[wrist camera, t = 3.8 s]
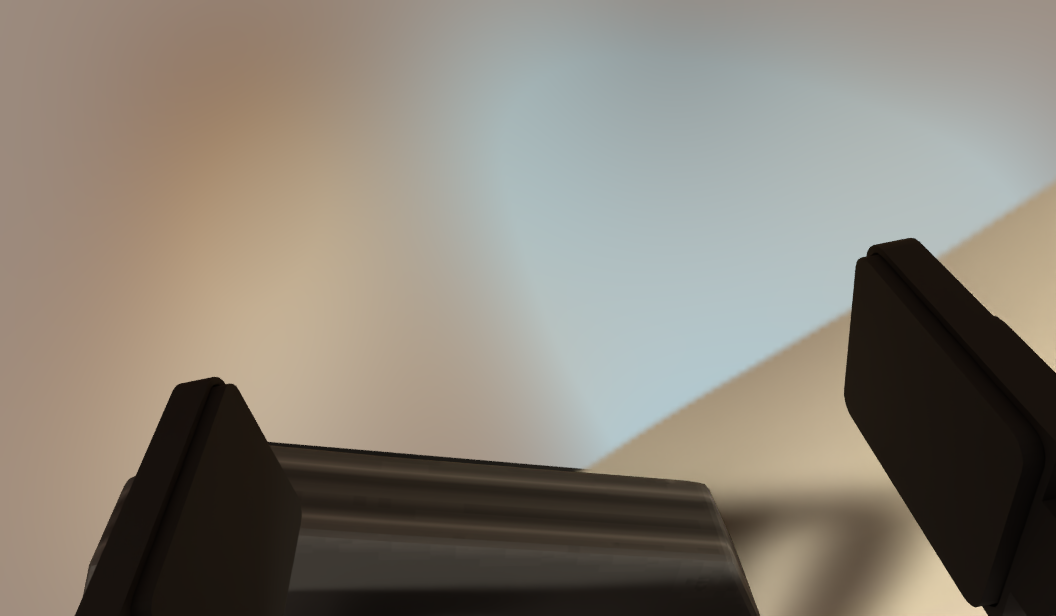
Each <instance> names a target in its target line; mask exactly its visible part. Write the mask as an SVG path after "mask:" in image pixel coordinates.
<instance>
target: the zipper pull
mask: <svg viewBox="0 0 1056 616" xmlns="http://www.w3.org/2000/svg"><path fill="white" fill-rule="evenodd" d="M268 444H269V445H270V447H271V449H272V451H273V453H274V454H275V456H276V458H277V460H278V462H279V463H280V465H281V467H282V469H283V471H284V472H285V474H286V476H287V478H288V480H289V481H290V483H291V485H292V487H293V489H294V490H295V492H296V494H297V496H298V498H299V501H300V504H301V511H302V519H301V526H300V531H299V536H298V542H297V547H296V552H295V557H294V563H293V568H292V573H291V578H290V584H289V589H288V594H287V599H286V605H285V610H284V615H283V616H760V614H759V611H758V609H757V606H756V603H755V600H754V598H753V595H752V592H751V590H750V587H749V584H748V582H747V579H746V576H745V573H744V571H743V568H742V565H741V563H740V560H739V557H738V555H737V552H736V549H735V547H734V544H733V542H732V539H731V537H730V535H729V533H728V530H727V528H726V526H725V524H724V521H723V519H722V517H721V515H720V512H719V510H718V508H717V506H716V503H715V501H714V499H713V497H712V494H711V492H710V490H709V489H708V488H707V487H706V485H705V484H701V483H696V482H689V481H681V480H669V479H657V478H644V477H632V476H620V475H607V474H595V473H583V472H582V471H583V470H584V469H580V468H568V467H557V466H545V465H532V464H522V463H510V462H499V461H487V460H475V459H463V458H451V457H439V456H429V455H416V454H405V453H393V452H382V451H370V450H358V449H347V448H335V447H323V446H311V445H300V444H289V443H276V442H268ZM134 479H135V476H134V477H132V478H130V479H129V480H128V481H127V483H126V484H125V486H124V488H123V490H122V492H121V494H120V497H119V499H118V501H117V503H116V506H115V508H114V510H113V513H112V515H111V517H110V519H109V522H108V524H107V526H106V528H105V531H104V533H103V535H102V537H101V540H100V542H99V544H98V547H97V549H96V551H95V553H94V556H93V558H92V560H91V562H90V564H89V569H88V574H87V579H86V584H85V589H84V593H85V591H86V589H87V587H88V584H89V582H90V580H91V577H92V575H93V573H94V571H95V568H96V566H97V564H98V561H99V559H100V557H101V554H102V552H103V550H104V548H105V545H106V543H107V541H108V538H109V536H110V534H111V532H112V529H113V527H114V525H115V522H116V520H117V518H118V515H119V513H120V511H121V509H122V506H123V504H124V502H125V499H126V497H127V495H128V492H129V490H130V488H131V486H132V483H133V481H134ZM83 596H84V594H83Z"/></svg>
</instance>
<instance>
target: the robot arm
mask: <svg viewBox="0 0 1056 616" xmlns="http://www.w3.org/2000/svg"><path fill="white" fill-rule="evenodd" d="M844 397H845V402H846V406H847V409H848V412H849V414H850V415H851V417H852V419H853V420H854V422H855V424H856V425H857V427H858V428H859V430H860V432H861V433H862V435H863V436H864V438H865V440H866V441H867V443H868V444H869V446H870V448H871V449H872V451H873V452H874V454H875V456H876V457H877V459H878V461H879V462H880V464H881V465H882V467H883V469H884V470H885V472H886V473H887V475H888V477H889V478H890V480H891V481H892V483H893V485H894V486H895V488H896V489H897V491H898V493H899V494H900V496H901V497H902V499H903V501H904V502H905V504H906V505H907V507H908V509H909V510H910V512H911V513H912V515H913V517H914V518H915V520H916V521H917V523H918V525H919V526H920V528H921V529H922V531H923V533H924V534H925V536H926V537H927V539H928V541H929V542H930V544H931V546H932V547H933V549H934V550H935V552H936V554H937V555H938V557H939V558H940V560H941V562H942V563H943V565H944V566H945V568H946V570H947V571H948V573H949V574H950V576H951V578H952V579H953V581H954V582H955V584H956V586H957V587H958V589H959V590H960V592H961V594H962V595H963V597H964V598H965V599H966V601H967V602H968V603H969V604H970V605H972V606H974V607H980V606H982V607H983V608H984V610H985V611H986V613H987V614H988V616H1056V373H1055V372H1054V371H1053V370H1052V369H1051V368H1050V367H1049V366H1048V365H1047V364H1046V363H1045V362H1044V361H1043V360H1042V359H1041V358H1040V357H1039V356H1038V355H1037V354H1036V353H1035V352H1034V351H1033V350H1032V349H1031V348H1030V347H1029V346H1028V345H1027V344H1026V343H1025V342H1024V341H1023V340H1022V339H1021V338H1020V337H1019V336H1018V335H1017V334H1016V333H1015V332H1014V331H1013V330H1012V329H1011V328H1010V327H1009V326H1008V325H1007V324H1006V323H1005V322H1003V321H1002V320H1001V319H999V318H998V317H996V316H993V315H992V314H991V313H990V312H989V311H988V310H987V309H986V308H985V307H984V306H983V305H982V304H981V303H980V302H979V301H978V300H977V299H976V298H975V297H974V296H973V295H972V294H971V293H970V292H969V291H968V290H967V289H966V288H965V287H964V286H963V285H962V284H961V283H960V282H959V281H958V280H957V279H956V278H955V277H954V276H953V275H952V274H951V273H950V272H949V271H948V270H947V269H946V268H945V267H944V266H943V265H942V264H941V263H940V262H939V261H938V260H937V259H936V258H935V257H934V256H933V255H932V254H931V253H930V252H929V251H928V250H927V249H926V248H925V247H924V246H923V245H922V244H921V243H920V242H919V241H917V240H916V239H914V238H907V239H902V240H897V241H892V242H887V243H882V244H877V245H873V246H871V247H870V248H869V250H868V252H867V256H866V257H862V258H860V259H858V261H857V264H856V270H855V280H854V291H853V301H852V312H851V322H850V333H849V344H848V354H847V365H846V376H845V386H844ZM301 519H302V511H301V504H300V501H299V498H298V496H297V494H296V492H295V490H294V489H293V487H292V485H291V483H290V481H289V480H288V478H287V476H286V474H285V472H284V471H283V469H282V467H281V465H280V463H279V462H278V460H277V458H276V456H275V454H274V453H273V451H272V449H271V447H270V445H269V444H268V442H267V440H266V439H265V436H264V435H263V433H262V431H261V429H260V427H259V426H258V424H257V422H256V420H255V418H254V417H253V415H252V413H251V411H250V409H249V408H248V406H247V404H246V402H245V401H244V399H243V397H242V395H241V393H240V391H239V390H238V388H237V387H236V386H235V385H234V384H225V383H224V381H223V380H221V379H220V378H218V377H211V378H206V379H201V380H196V381H191V382H187V383H181V384H179V385H177V386H176V387H175V388H174V390H173V392H172V394H171V396H170V398H169V401H168V403H167V405H166V408H165V410H164V412H163V414H162V417H161V419H160V421H159V424H158V426H157V428H156V431H155V433H154V435H153V437H152V440H151V442H150V445H149V447H148V449H147V451H146V453H145V456H144V458H143V460H142V463H141V465H140V467H139V470H138V472H137V474H136V476H135V479H134V481H133V483H132V486H131V488H130V490H129V492H128V495H127V497H126V499H125V502H124V504H123V506H122V509H121V511H120V513H119V515H118V518H117V520H116V522H115V525H114V527H113V529H112V532H111V534H110V536H109V538H108V541H107V543H106V545H105V548H104V550H103V552H102V554H101V557H100V559H99V561H98V564H97V566H96V568H95V571H94V573H93V575H92V577H91V580H90V582H89V584H88V587H87V589H86V591H85V593H84V596H83V598H82V600H81V603H80V605H79V607H78V610H77V612H76V614H75V616H283V615H284V610H285V605H286V599H287V594H288V589H289V584H290V578H291V573H292V568H293V563H294V557H295V552H296V547H297V542H298V536H299V531H300V526H301Z"/></svg>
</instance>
